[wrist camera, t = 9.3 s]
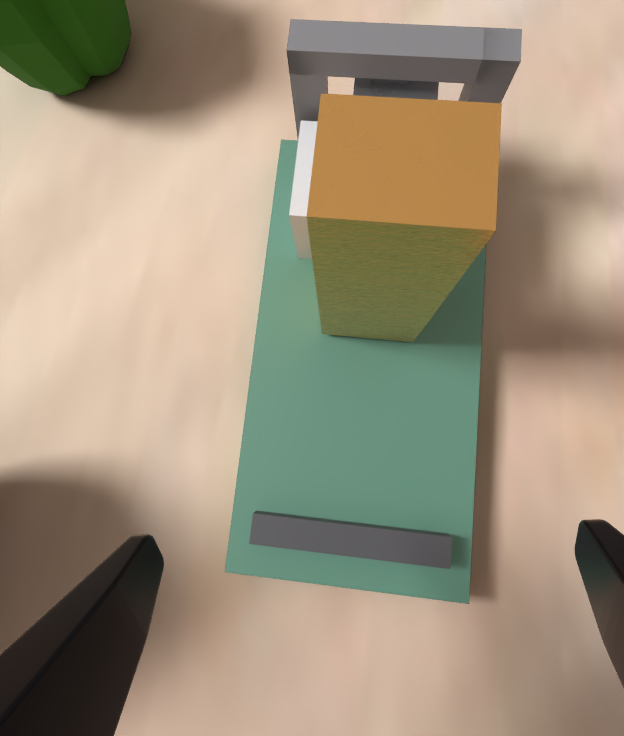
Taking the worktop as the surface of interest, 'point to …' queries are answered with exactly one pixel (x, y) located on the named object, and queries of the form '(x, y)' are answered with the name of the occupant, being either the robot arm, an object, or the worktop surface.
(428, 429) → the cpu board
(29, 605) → the worktop surface
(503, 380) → the worktop surface
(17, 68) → the bell pepper
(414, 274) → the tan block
